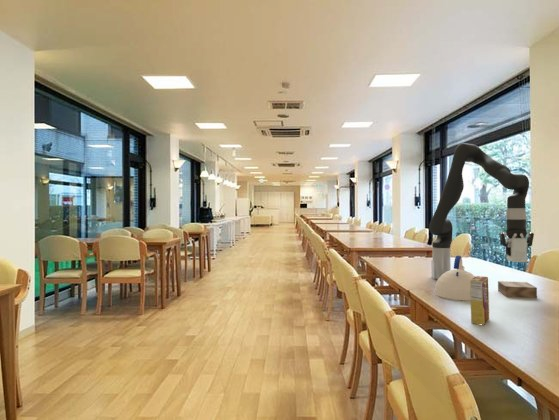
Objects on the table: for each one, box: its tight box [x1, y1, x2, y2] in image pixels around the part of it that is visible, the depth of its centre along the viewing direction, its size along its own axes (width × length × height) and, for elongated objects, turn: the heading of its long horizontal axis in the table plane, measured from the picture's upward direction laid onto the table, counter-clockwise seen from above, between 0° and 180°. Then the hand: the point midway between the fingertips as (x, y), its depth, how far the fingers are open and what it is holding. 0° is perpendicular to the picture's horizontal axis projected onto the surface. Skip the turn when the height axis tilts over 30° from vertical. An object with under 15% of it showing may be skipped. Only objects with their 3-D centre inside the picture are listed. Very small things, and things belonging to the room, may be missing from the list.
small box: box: [505, 236, 528, 263], centre depth 173 cm, size 8×6×10 cm
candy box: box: [470, 275, 490, 326], centre depth 134 cm, size 9×4×15 cm, turn 140°
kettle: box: [434, 255, 476, 302], centre depth 173 cm, size 20×21×18 cm
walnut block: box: [497, 280, 538, 299], centre depth 173 cm, size 12×12×5 cm
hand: (516, 255), depth 173 cm, fingers closed on small box, 5 cm apart
